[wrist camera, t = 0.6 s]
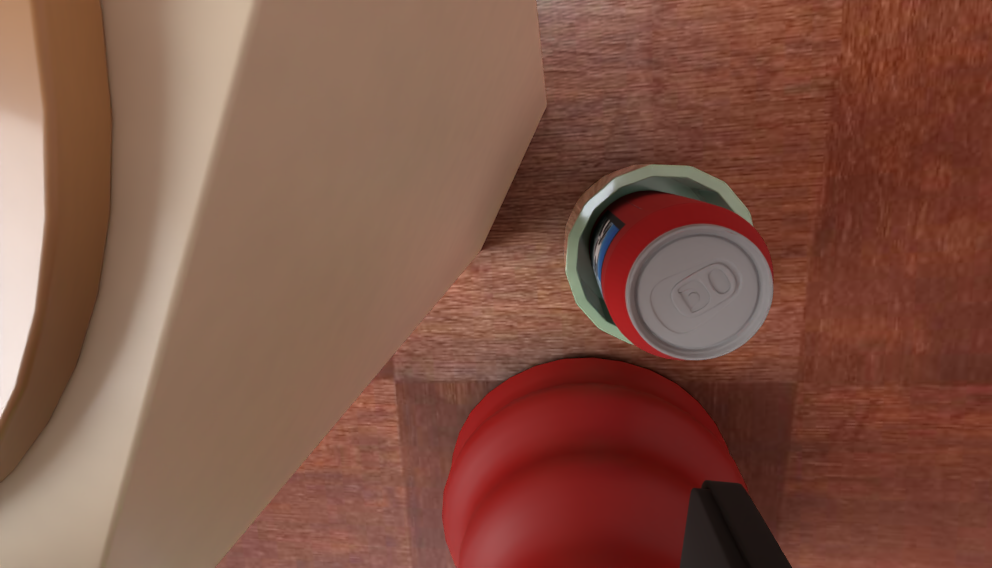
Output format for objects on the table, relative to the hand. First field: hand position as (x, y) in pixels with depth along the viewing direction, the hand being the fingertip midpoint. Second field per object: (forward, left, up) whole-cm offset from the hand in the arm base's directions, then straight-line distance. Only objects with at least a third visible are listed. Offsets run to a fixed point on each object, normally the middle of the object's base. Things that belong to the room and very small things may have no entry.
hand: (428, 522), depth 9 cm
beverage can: (-5, +6, -23) cm, 25 cm away
